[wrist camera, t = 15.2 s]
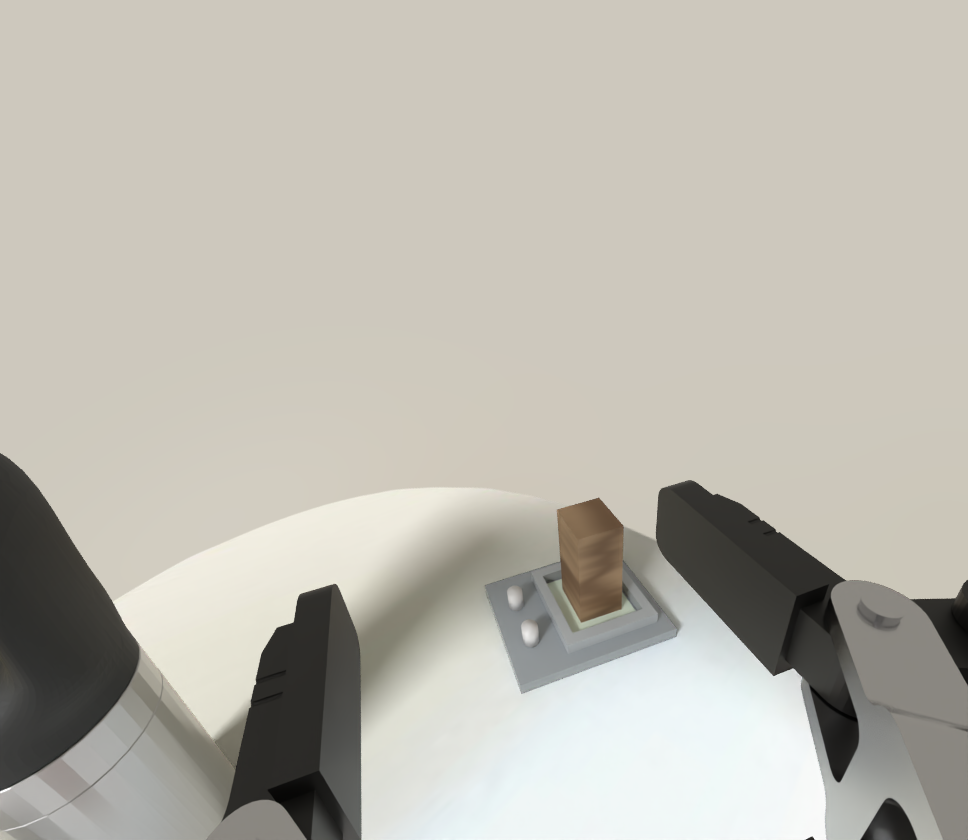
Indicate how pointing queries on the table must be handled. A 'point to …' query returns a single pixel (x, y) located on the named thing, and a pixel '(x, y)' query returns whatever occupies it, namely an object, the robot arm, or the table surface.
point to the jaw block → (591, 558)
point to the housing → (569, 626)
